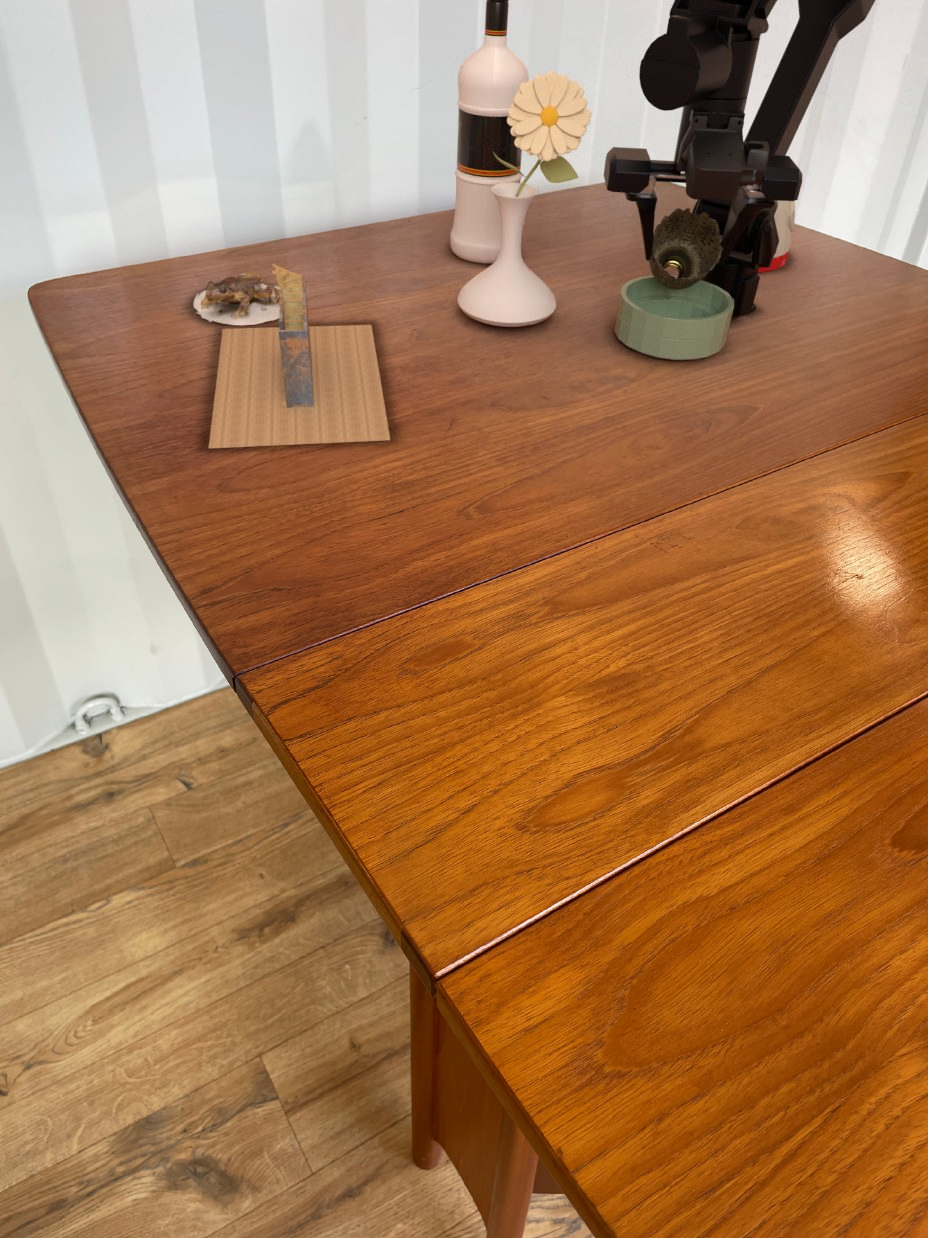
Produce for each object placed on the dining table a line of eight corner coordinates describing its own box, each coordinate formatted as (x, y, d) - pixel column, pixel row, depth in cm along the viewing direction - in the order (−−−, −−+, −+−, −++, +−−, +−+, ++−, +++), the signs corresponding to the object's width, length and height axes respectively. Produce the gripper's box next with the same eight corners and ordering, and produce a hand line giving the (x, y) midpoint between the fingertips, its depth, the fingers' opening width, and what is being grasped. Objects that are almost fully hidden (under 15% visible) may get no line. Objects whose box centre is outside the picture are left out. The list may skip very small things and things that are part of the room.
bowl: (591, 335, 101) (597, 291, 97) (660, 308, 107) (668, 266, 103) (676, 375, 94) (686, 330, 91) (745, 344, 100) (756, 301, 97)
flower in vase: (441, 324, 101) (446, 70, 84) (478, 289, 109) (489, 50, 92) (550, 347, 98) (579, 88, 81) (580, 309, 106) (611, 65, 89)
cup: (713, 253, 101) (734, 221, 93) (691, 314, 101) (709, 287, 93) (651, 231, 101) (666, 197, 93) (629, 292, 101) (642, 263, 93)
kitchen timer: (785, 241, 125) (817, 122, 115) (788, 277, 115) (824, 150, 105) (685, 230, 127) (708, 112, 117) (680, 264, 117) (705, 139, 107)
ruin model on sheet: (222, 328, 98) (208, 238, 92) (371, 324, 101) (368, 235, 94) (208, 448, 80) (189, 345, 74) (390, 440, 82) (388, 339, 76)
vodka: (478, 271, 113) (491, -17, 93) (435, 248, 119) (439, -29, 99) (533, 257, 118) (557, -21, 98) (490, 235, 123) (504, -32, 103)
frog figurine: (252, 335, 97) (247, 301, 95) (169, 310, 101) (163, 276, 99) (316, 300, 105) (313, 268, 102) (236, 277, 109) (232, 246, 106)
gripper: (624, 108, 78) (600, 286, 88) (838, 119, 78) (789, 295, 88) (614, 81, 86) (593, 246, 97) (808, 90, 86) (766, 255, 96)
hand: (683, 261), depth 94 cm, fingers closed on cup, 7 cm apart
